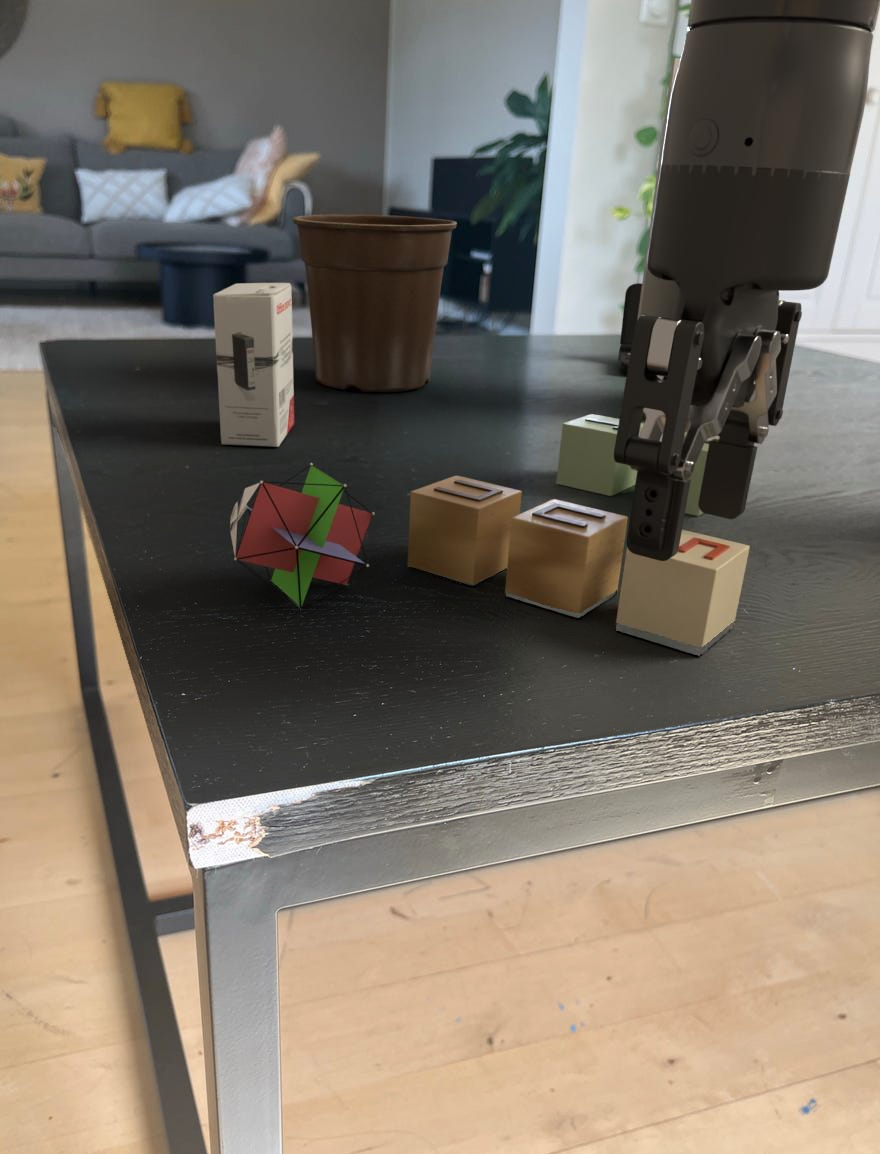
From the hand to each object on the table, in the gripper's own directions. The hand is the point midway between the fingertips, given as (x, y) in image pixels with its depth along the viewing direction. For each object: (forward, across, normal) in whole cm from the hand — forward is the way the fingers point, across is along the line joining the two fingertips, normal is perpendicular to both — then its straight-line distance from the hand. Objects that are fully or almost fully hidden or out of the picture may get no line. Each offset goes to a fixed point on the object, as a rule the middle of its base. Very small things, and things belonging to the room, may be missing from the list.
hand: (687, 533), depth 48 cm
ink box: (+5, +14, +43) cm, 45 cm away
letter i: (+5, +21, +8) cm, 23 cm away
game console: (+5, +73, +30) cm, 79 cm away
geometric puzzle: (+6, -9, +17) cm, 20 cm away
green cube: (+5, +21, +15) cm, 26 cm away
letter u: (+5, 0, +6) cm, 8 cm away
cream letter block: (+5, 0, 0) cm, 5 cm away
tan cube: (+5, 0, +13) cm, 14 cm away
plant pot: (+5, +39, +51) cm, 64 cm away
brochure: (+5, +52, +20) cm, 57 cm away
